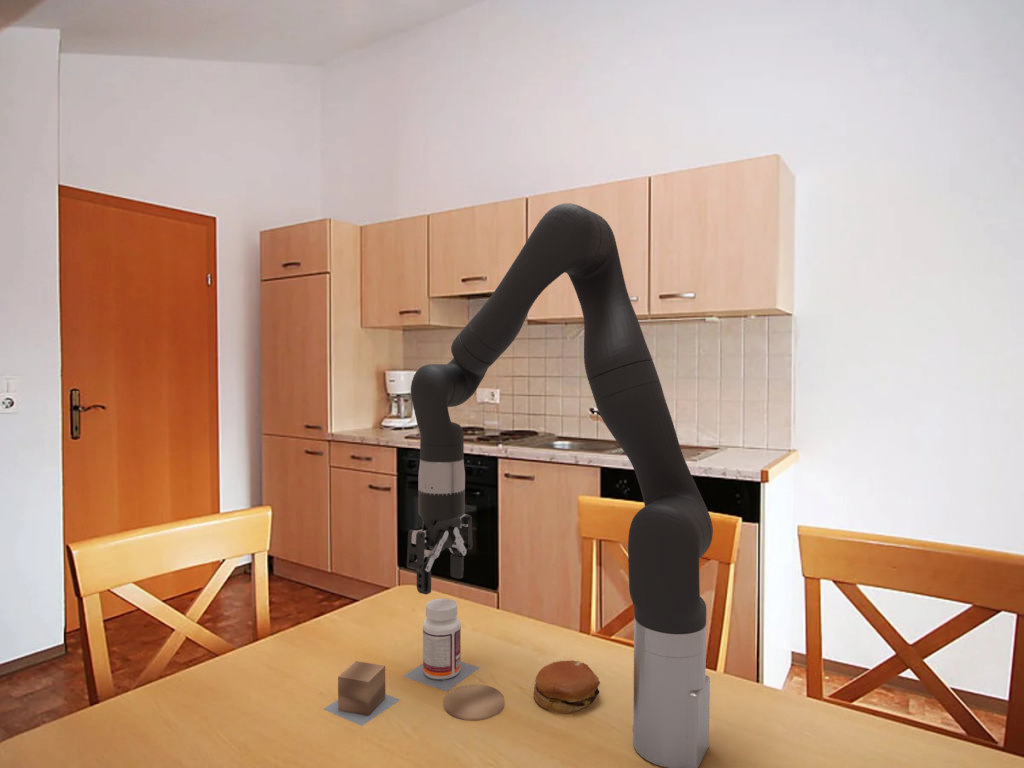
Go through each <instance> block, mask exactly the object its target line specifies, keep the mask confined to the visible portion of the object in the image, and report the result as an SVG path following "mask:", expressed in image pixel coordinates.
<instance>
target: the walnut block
mask: <svg viewBox="0 0 1024 768" xmlns="http://www.w3.org/2000/svg"><path fill="white" fill-rule="evenodd" d="M385 694H386V665H382V664H378V663H377V664H376V663H370V662H365V661H364V662H363V661H357V660H356V661H354V662H353V663H352V664H351V665H349V666H348V667H347V668H346V669H345V670H344V671H343V672H341V673H340V674H339V675H338V676H337V698H338V699H337V700H338V710H340V711H345V712H350V713H356V714H361V715H367V716H369V715H370V714H371V713H372V712H373V711H374V710H375V709H376V708H377V707H378V706H379V704H380V703H381V702H382V701H383V700H384V699H385Z"/></svg>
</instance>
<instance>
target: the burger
mask: <svg viewBox="0 0 1024 768" xmlns="http://www.w3.org/2000/svg"><path fill="white" fill-rule="evenodd" d="M534 682H535V683H534V690H533V698H534V700H535V702H536V703H537V704H538V705H539V706H540V707H542V708H543V709H545V710H547V711H550V712H552V713H555V714H562V715H563V714H571V713H574V712H576V711H579V710H581V709H584V708H586V707H588V706H590V705H592V704H593V702H594V701H595V700H596V698H597V697H598V695H599V694H600V689H599V686H600V685H601V681H600V680H599V676H597V674H595V672H594V671H593V670H592V668H591V667H589V666H588V665H587V664H586V663H584V662H580V661H578V660H559V661H555V662H551V663H548V664H547V665H544V667H542V668H541V669H539V671H538V672H537V674H536V676H535V681H534Z"/></svg>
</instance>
